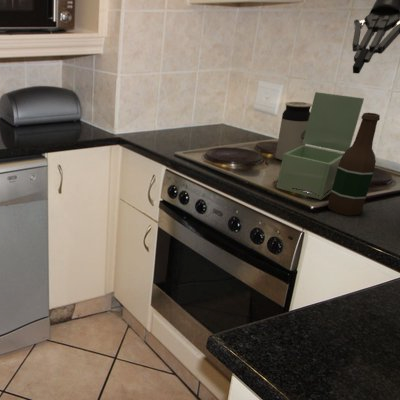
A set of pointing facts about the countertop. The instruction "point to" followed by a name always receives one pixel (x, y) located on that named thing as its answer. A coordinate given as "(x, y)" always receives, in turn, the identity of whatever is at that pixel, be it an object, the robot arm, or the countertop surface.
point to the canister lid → (332, 121)
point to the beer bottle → (355, 170)
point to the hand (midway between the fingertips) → (355, 70)
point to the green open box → (309, 171)
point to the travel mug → (292, 127)
